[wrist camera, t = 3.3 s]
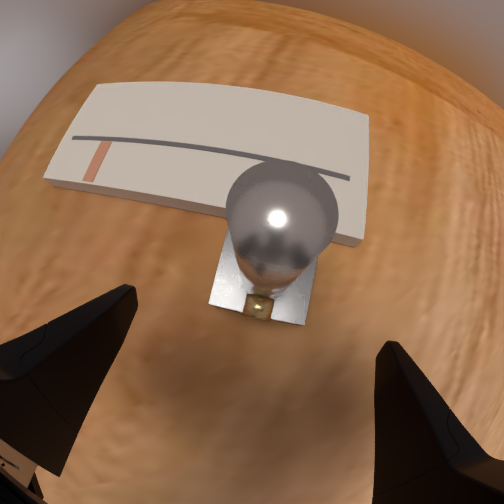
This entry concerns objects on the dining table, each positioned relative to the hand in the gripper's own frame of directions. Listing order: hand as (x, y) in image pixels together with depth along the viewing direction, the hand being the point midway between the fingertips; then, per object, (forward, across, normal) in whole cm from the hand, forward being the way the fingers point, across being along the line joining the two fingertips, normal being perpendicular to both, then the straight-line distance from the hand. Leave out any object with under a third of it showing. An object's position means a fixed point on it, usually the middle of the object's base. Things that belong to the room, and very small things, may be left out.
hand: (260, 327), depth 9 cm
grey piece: (+10, 0, +4) cm, 11 cm away
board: (+17, +8, -2) cm, 18 cm away
